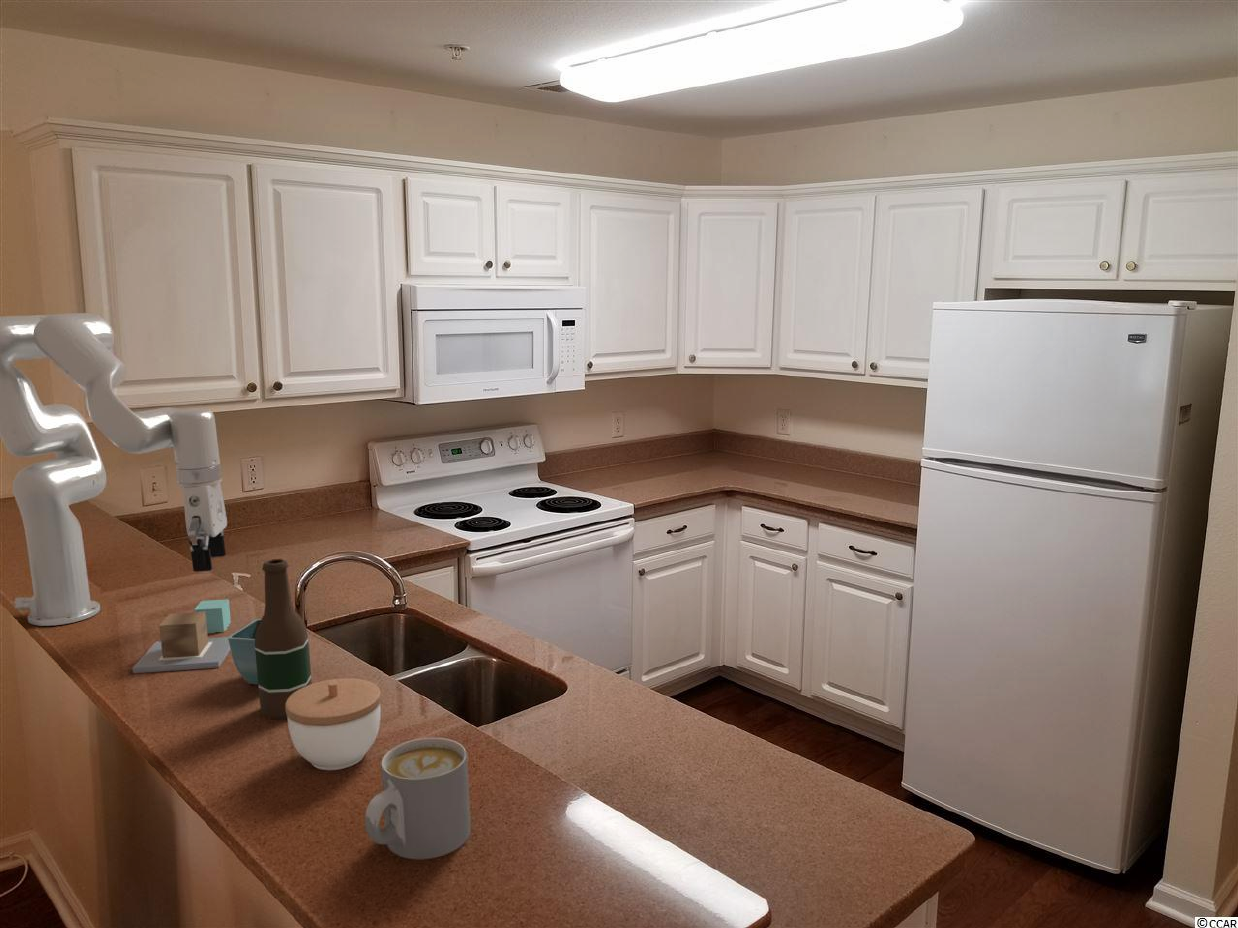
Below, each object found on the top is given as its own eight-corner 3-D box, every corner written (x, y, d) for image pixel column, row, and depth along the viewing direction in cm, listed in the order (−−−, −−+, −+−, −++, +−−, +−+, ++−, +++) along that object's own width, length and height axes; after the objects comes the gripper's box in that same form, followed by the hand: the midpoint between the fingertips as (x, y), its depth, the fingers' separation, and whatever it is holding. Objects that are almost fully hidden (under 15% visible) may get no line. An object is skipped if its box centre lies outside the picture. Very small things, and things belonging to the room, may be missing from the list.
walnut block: (162, 658, 162) (159, 625, 161) (173, 645, 168) (169, 613, 167) (199, 655, 163) (195, 623, 162) (208, 642, 169) (205, 611, 168)
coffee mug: (443, 802, 118) (439, 729, 116) (486, 835, 111) (483, 758, 109) (344, 844, 110) (338, 766, 108) (384, 883, 102) (379, 800, 100)
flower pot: (279, 693, 151) (275, 640, 149) (231, 688, 152) (226, 637, 151) (308, 671, 159) (304, 621, 158) (261, 667, 161) (257, 618, 159)
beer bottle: (264, 724, 140) (250, 571, 135) (257, 704, 147) (244, 558, 142) (317, 713, 143) (305, 564, 139) (309, 694, 150) (297, 551, 146)
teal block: (196, 634, 177) (194, 609, 176) (204, 625, 182) (201, 600, 181) (224, 632, 178) (221, 607, 177) (230, 623, 183) (228, 599, 182)
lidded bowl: (333, 790, 121) (327, 711, 119) (270, 765, 128) (264, 690, 126) (403, 749, 132) (399, 676, 130) (341, 728, 138) (336, 658, 136)
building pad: (133, 673, 159) (132, 666, 159) (156, 646, 171) (155, 640, 171) (219, 667, 161) (218, 660, 161) (236, 641, 173) (235, 635, 173)
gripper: (207, 483, 166) (218, 575, 169) (232, 465, 183) (241, 549, 186) (163, 485, 165) (175, 578, 168) (192, 468, 182) (202, 552, 185)
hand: (210, 563), depth 177 cm, fingers open, 9 cm apart
